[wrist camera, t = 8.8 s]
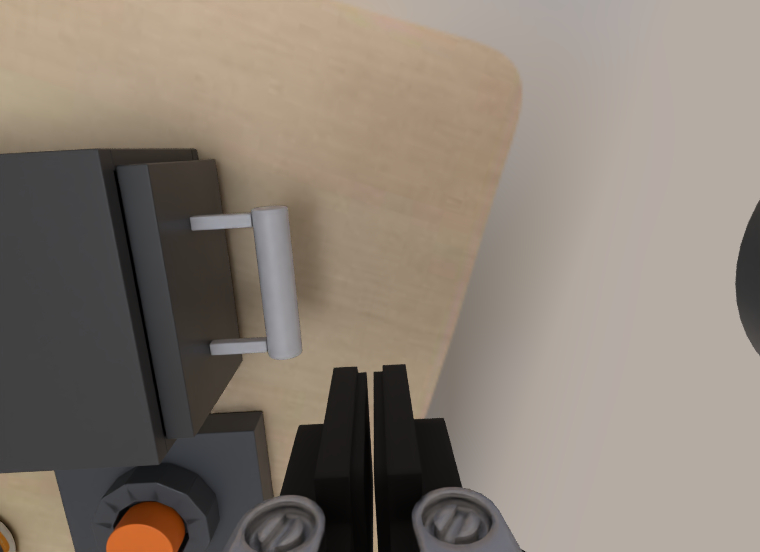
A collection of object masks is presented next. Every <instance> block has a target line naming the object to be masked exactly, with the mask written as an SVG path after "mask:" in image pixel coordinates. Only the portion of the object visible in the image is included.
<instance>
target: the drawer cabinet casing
mask: <svg viewBox="0 0 760 552" xmlns="http://www.w3.org/2000/svg"><path fill="white" fill-rule="evenodd" d="M190 160H198V156H197V150H196V149H80V150H62V151H44V152H27V153H9V154H0V473H14V472H33V471H52V470H71V469H91V468H110V467H129V466H148V465H159V464H160V463H161V462H162V460H163V459H164V457H165V456H166V454H167V453H168V452H169V450H170V449H171V447H172V446H173V444H174V443H175V441H176V440H177V439H167V437H166V432H165V427H164V421H163V416H162V411H161V405H160V400H159V397H158V398H156V393H155V387H154V382H153V377H152V371H151V366H150V361H149V356H148V350H147V345H146V340H145V334H144V329H143V324H142V319H141V313H140V308H139V303H138V298H137V292H136V287H135V282H134V276H133V271H132V266H131V261H130V255H129V250H128V245H127V239H126V234H125V229H124V224H123V218H122V213H121V208H120V203H119V197H118V192H117V187H116V181H115V179H118V176H117V171H116V166H117V165H129V164H144V163H160V162H175V161H190Z"/></svg>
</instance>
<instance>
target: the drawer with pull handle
mask: <svg viewBox="0 0 760 552" xmlns="http://www.w3.org/2000/svg"><path fill="white" fill-rule="evenodd" d="M116 171H117V176H118V179H115V181H116V187H117V192H118V197H119V203H120V208H121V213H122V218H123V224H124V229H125V234H126V239H127V245H128V250H129V255H130V261H131V266H132V271H133V276H134V282H135V287H136V292H137V298H138V303H139V308H140V313H141V319H142V324H143V329H144V334H145V340H146V345H147V350H148V356H149V361H150V366H151V371H152V377H153V382H154V387H155V393H156V398H158V397H159V400H160V405H161V411H162V416H163V421H164V427H165V432H166V437H167V439H181V438H194V437H195V436H196V434H197V432H198V431H199V429H200V428H201V426H202V425H203V423H204V421H205V420H206V418H207V417H208V415H209V413H210V412H211V410H212V409H213V407H214V405H215V404H216V402H217V401H218V399H219V397H220V396H221V394H222V393H223V391H224V389H225V388H226V386H227V385H228V383H229V381H230V380H231V378H232V377H233V375H234V374H235V372H236V370H237V369H238V367H239V366H240V364H241V362H242V361H243V360H242V354H244V353H263V352H267V351H268V354H269V356H270V357H271V358H273V359H277V360H285V359H291V358H294V357H296V356H298V355H300V354H301V353H302V342H301V332H300V322H299V312H298V303H297V293H296V283H295V273H294V263H293V254H292V244H291V234H290V224H289V214H288V207H287V206H264V207H257V208H253V209H252V210H251V213H233V214H223V213H222V206H221V199H220V191H219V184H218V177H217V169H216V162H215V159H208V160H190V161H175V162H160V163H144V164H129V165H117V166H116ZM249 227H253V230H254V238H255V246H256V255H257V263H258V271H259V279H260V288H261V296H262V304H263V312H264V321H265V329H266V337H257V338H239V330H238V323H237V316H236V308H235V301H234V294H233V286H232V279H231V272H230V264H229V257H228V250H227V242H226V235H225V229H230V228H249Z"/></svg>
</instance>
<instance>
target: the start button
mask: <svg viewBox="0 0 760 552" xmlns="http://www.w3.org/2000/svg"><path fill="white" fill-rule="evenodd" d="M184 536H185V525H184V522H183V520H182V518H181V516H180V515H179V514H178V513H177V512H176V511H175V510H174V509H173V508H171V507H169V506H167V505H164V504H162V503H159V502H142V503H139V504H136V505H134V506H132V507H131V508H130V509H129V510H128V511H127V512H126V513H125V514H124V516H123V517H122V519H121V520H120V522H119V523H118V525H117V526H116V527H115V529H114V530H113V532H112V533H111V535H110V536H109V538H108V541H107V545H106V551H107V552H178V550H179V548H180V545H181V543H182V541H183V539H184Z"/></svg>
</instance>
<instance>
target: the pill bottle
mask: <svg viewBox="0 0 760 552" xmlns="http://www.w3.org/2000/svg"><path fill="white" fill-rule="evenodd" d="M0 552H16V547H15V542H14V539H13V537H12V534H11V533H10V531H9V530H8V529H7V527H6V526H5V525H4V524H3V523H2V522H0Z"/></svg>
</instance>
